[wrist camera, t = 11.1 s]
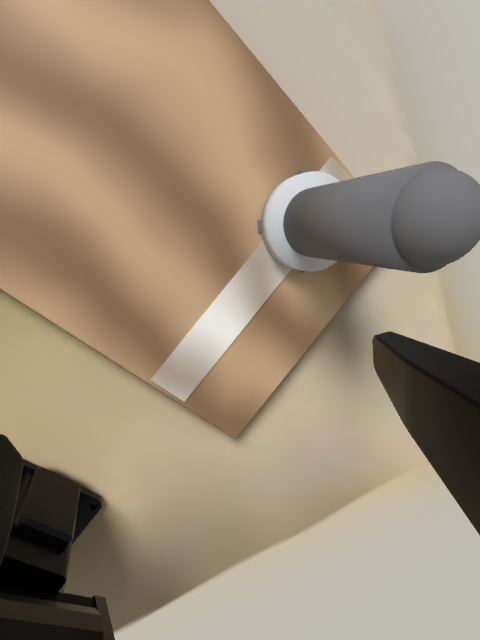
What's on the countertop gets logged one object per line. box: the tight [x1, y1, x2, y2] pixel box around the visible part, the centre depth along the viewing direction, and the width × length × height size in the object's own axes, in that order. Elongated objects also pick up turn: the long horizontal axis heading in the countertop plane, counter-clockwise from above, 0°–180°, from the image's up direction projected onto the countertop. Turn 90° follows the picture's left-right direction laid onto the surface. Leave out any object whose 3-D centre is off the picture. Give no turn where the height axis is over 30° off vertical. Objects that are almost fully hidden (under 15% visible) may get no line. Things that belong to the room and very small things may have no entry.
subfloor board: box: [0, 0, 373, 439], centre depth 19 cm, size 16×23×2 cm
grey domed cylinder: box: [261, 161, 480, 273], centre depth 16 cm, size 5×5×11 cm
